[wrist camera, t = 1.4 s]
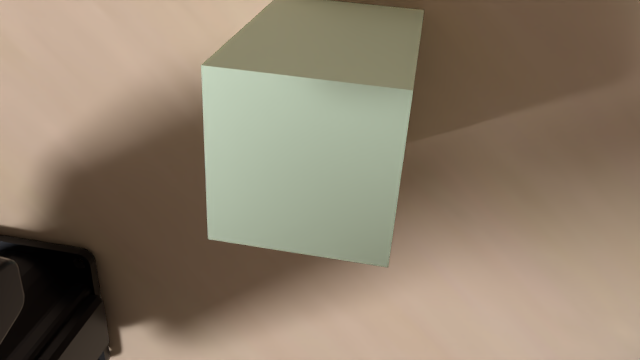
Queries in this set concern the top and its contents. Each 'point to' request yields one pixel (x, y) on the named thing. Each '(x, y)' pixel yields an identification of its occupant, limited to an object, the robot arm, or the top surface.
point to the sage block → (310, 128)
